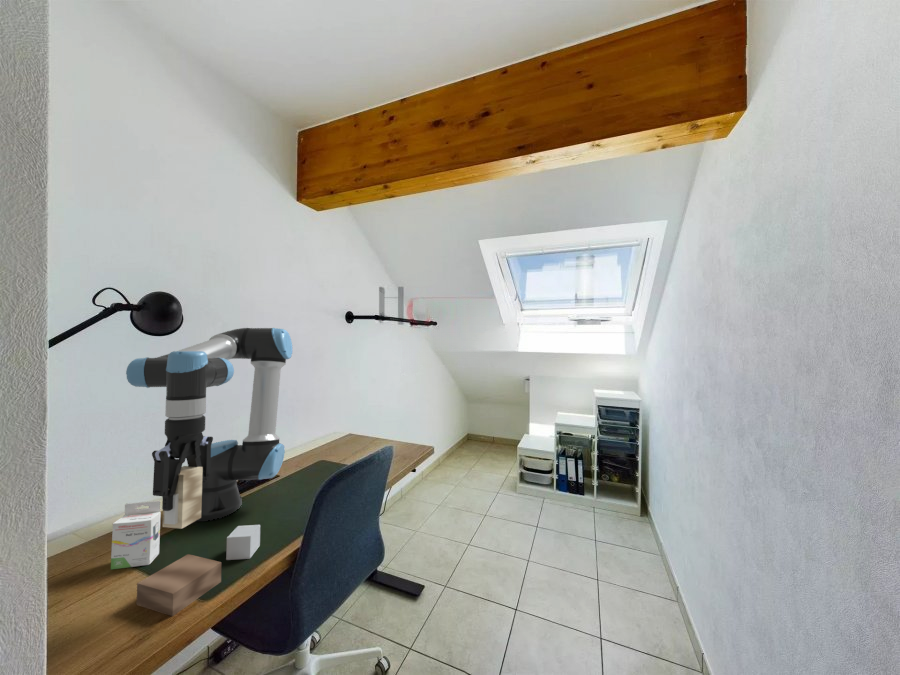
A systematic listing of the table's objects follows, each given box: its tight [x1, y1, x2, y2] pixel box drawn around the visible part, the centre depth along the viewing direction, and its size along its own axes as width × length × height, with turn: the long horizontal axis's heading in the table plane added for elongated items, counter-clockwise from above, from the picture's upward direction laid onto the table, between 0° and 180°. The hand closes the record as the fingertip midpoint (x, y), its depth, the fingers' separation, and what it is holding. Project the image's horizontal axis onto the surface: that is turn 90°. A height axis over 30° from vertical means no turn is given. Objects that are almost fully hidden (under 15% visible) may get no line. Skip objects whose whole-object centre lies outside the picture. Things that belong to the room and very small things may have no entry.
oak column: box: [162, 465, 203, 530], centre depth 79 cm, size 5×5×12 cm
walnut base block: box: [136, 553, 222, 617], centre depth 78 cm, size 11×11×5 cm
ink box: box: [110, 500, 162, 570], centre depth 90 cm, size 9×5×15 cm, turn 105°
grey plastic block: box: [225, 524, 261, 561], centre depth 94 cm, size 6×6×6 cm
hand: (182, 516), depth 79 cm, fingers closed on oak column, 5 cm apart
